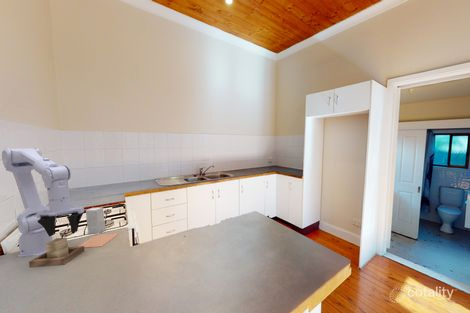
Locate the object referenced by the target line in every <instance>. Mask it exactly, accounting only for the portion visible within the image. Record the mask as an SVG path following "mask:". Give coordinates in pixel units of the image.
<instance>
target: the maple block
mask: <svg viewBox="0 0 470 313" xmlns="http://www.w3.org/2000/svg"><path fill="white" fill-rule="evenodd" d="M68 247H69V245H68V237H57V238H53V240H52V241H50V242H48V243H46V251H47V259H48V258H61V257H65V256H67V255H68V254H69V252H68Z"/></svg>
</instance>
